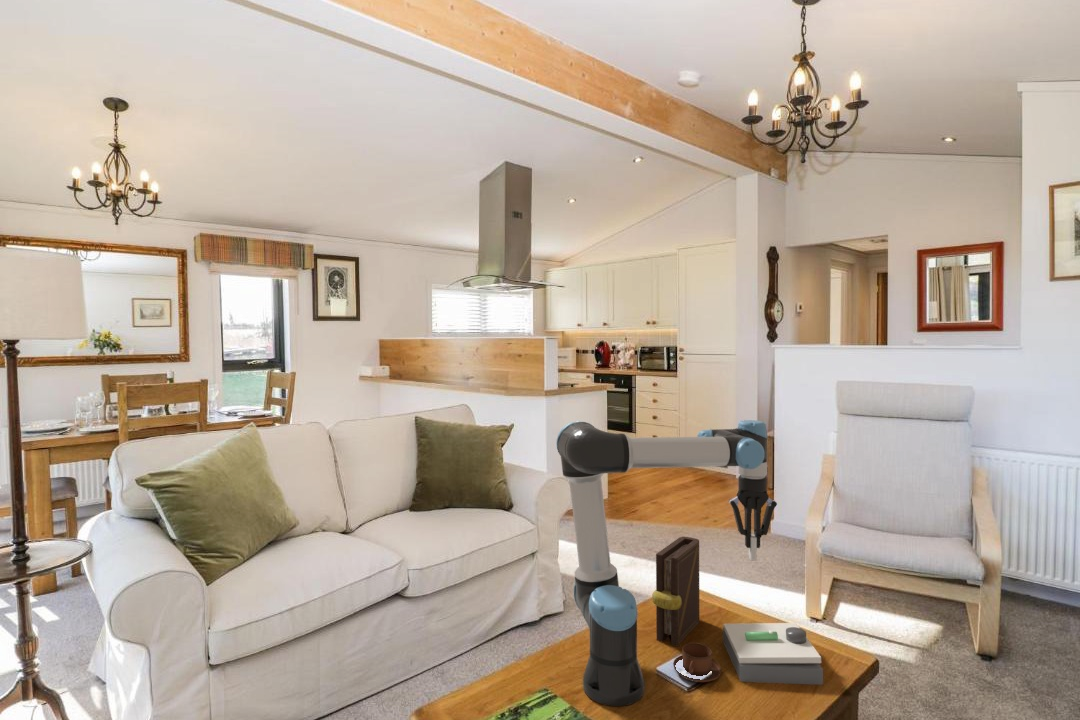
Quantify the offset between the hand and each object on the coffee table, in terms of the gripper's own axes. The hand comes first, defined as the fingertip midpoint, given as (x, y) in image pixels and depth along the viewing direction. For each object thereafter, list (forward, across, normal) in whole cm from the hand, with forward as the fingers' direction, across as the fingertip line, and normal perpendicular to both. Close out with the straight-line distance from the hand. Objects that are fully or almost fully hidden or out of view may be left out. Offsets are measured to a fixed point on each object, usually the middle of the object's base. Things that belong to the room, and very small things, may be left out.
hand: (752, 558), depth 165 cm
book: (+25, +20, -6) cm, 32 cm away
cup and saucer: (+25, +18, +16) cm, 35 cm away
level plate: (+20, -2, +9) cm, 22 cm away
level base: (+24, -2, +9) cm, 26 cm away
